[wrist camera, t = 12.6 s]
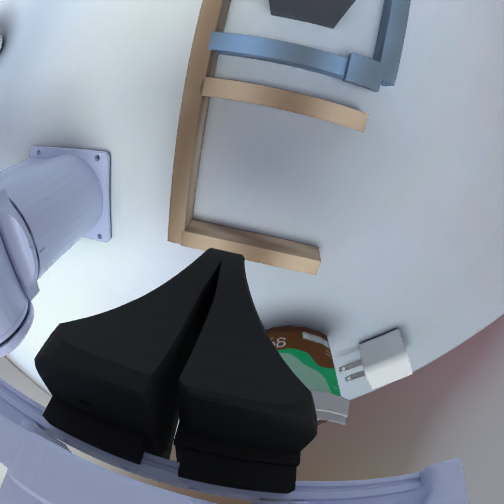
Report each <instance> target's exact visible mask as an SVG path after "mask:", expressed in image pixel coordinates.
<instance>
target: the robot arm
mask: <svg viewBox="0 0 504 504" xmlns="http://www.w3.org/2000/svg"><path fill="white" fill-rule="evenodd" d="M40 152H41V153H40ZM98 155H99V156H100V160H99V159H98V158H97V156H98ZM109 170H110V156H109V154H108V153H107V152H105V151H96V150H86V149H74V148H61V147H44V146H33V147H31V148H30V150H29V159H26V160H24V161H22V162H20V163H18V164H15V165H13V166H11V167H9V168H7V169H5V170H3V171H1V172H0V357H2V356H5V355H7V354H8V353H10V352H11V351H13V350H14V349H15V348H16V347H17V346H18V345H19V344H20V343H21V342H22V341H23V339H24V338H25V336H26V334H27V333H28V331H29V329H30V327H31V324H32V322H33V318H34V308H33V305H32V303H31V300H32V299H33V298H34V297H35V296H36V295H37V293H38V292H39V291H40V290H39V287H38V284H37V280H38V279H39V278H40V277H41V276H42V275H43V274H44V273H45V272H46V271H47V270H48V269H49V268H50V267H51V266H52V265H53V264H54V263H55V262H56V261H57V260H58V259H59V258H60V257H61V256H62V255H63V254H64V253H65V252H66V251H67V250H68V249H70V248H71V247H72V246H73V245H74V244H75V243H76V242H77V241H78V240H79V239H80V238H82V237H86V238H90V239H94V240H98V241H102V242H108V241H109V240H110V239H111V229H110V201H109ZM100 234H101V235H102V237H101V236H100ZM244 260H245V258H244V256H243V255H242V254H237V253H233V252H228V251H224V250H219V249H215V248H209V249H207V250H206V251H205V252H204V253H203V254H202V255H201V256H200V257H199V258H197V259H196V260H195V261H194V262H193V263H191V264H190V265H189V266H188V267H186V268H185V269H184V270H183V271H181V272H180V273H179V274H177V275H176V276H174V277H173V278H172V279H170V280H169V281H167V282H166V283H164V284H163V285H161V286H160V287H158V288H156V289H155V290H153V291H151V292H150V293H148V294H146V295H144V296H142V297H140V298H138V299H136V300H134V301H131V302H129V303H127V304H125V305H122V306H120V307H118V308H115V309H112V310H109V311H107V312H104V313H101V314H97V315H94V316H91V317H87V318H83V319H79V320H74V321H70V322H66V323H60V324H59V325H58V326H57V327H56V329H55V330H54V331H53V332H52V333H51V335H50V336H49V338H48V339H47V341H46V342H45V344H44V345H43V347H42V348H41V349H40V351H39V352H38V354H37V356H36V357H35V359H34V360H35V366H36V369H37V371H38V373H39V375H40V377H41V378H42V380H43V382H44V383H45V385H46V386H47V388H48V389H49V391H50V392H51V394H52V395H53V396H52V398H51V400H50V402H49V404H48V406H47V407H46V408H45V407H43V406H42V405H40V404H39V403H37V402H35V401H33V400H32V399H30V398H29V397H27V396H26V395H24V394H22V393H21V392H19V391H18V390H17V389H15V388H13V387H12V386H11V385H9V384H8V383H6V382H5V381H4V380H2V379H1V378H0V462H1V463H3V465H5V466H6V467H7V468H8V470H7V473H6V475H5V478H4V480H3V483H2V485H1V488H0V504H217V503H213V502H209V501H204V500H200V499H196V498H192V497H188V496H185V495H181V494H178V493H174V492H170V491H167V490H164V489H161V488H158V487H155V486H151V485H149V484H146V483H143V482H140V481H137V480H134V479H131V478H128V477H126V476H123V475H121V474H118V473H116V472H113V471H111V470H108V469H105V468H103V467H101V466H98V465H96V464H94V463H92V462H89V461H87V460H85V459H83V458H81V457H79V456H77V455H75V454H73V453H72V452H71V451H69V449H68V448H67V446H66V445H65V444H63V443H62V442H60V441H63V442H64V443H66V444H68V445H70V446H72V447H74V448H76V449H78V450H80V451H82V452H84V453H86V454H88V455H90V456H92V457H95V458H97V459H99V460H101V461H104V462H106V463H108V464H111V465H113V466H116V467H118V468H121V469H123V470H126V471H129V472H131V473H134V474H137V475H140V476H143V477H146V478H149V479H152V480H155V481H158V482H162V483H165V484H169V485H172V486H176V487H180V488H184V489H188V490H192V491H196V492H201V493H206V494H211V495H216V496H222V497H228V498H235V499H242V500H250V501H259V502H254V503H252V504H468V495H467V489H466V483H465V477H464V471H463V466H462V461H461V458H456V459H452V460H448V461H444V462H439V463H436V464H434V465H431V466H429V467H428V468H426V469H424V470H422V471H421V472H420V473H415V474H409V475H402V476H396V477H388V478H379V479H369V480H357V481H356V480H355V481H296V467H297V466H298V465H299V464H300V451H301V450H302V449H303V448H304V447H306V445H308V444H309V443H310V442H311V441H312V440H313V439H314V438H315V436H316V435H317V415H316V409H315V404H314V400H313V396H312V392H311V391H310V390H309V389H308V388H307V387H306V386H305V385H304V384H303V383H302V382H301V380H300V379H299V378H298V377H297V376H296V375H295V374H294V373H293V371H292V370H291V369H290V367H289V366H288V365H287V364H286V362H285V361H284V360H283V358H282V357H281V355H280V354H279V352H278V350H277V349H276V347H275V346H274V344H273V343H272V341H271V340H270V338H269V336H268V334H267V332H266V330H265V329H264V327H263V325H262V322H261V320H260V318H259V316H258V314H257V311H256V309H255V306H254V303H253V300H252V297H251V294H250V291H249V287H248V283H247V279H246V273H245V265H244ZM178 420H179V425H178V428H177V424H178ZM176 428H177V432H176ZM175 432H176V435H175ZM51 435H52V436H51ZM54 437H55V438H54ZM174 437H175V439H174ZM56 438H57V439H59V440H60V441H59V440H57V439H56ZM173 441H174V443H173ZM173 444H174V445H175V448H176V457H177V462H175V461H172V460H169V459H170V454H171V450H172V445H173Z"/></svg>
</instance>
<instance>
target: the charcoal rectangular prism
mask: <svg viewBox="0 0 504 504" xmlns="http://www.w3.org/2000/svg"><path fill="white" fill-rule="evenodd" d="M354 2H355V0H269V3H270V9H271V15H274V16H280V17H285V18H290V19H295V20H300V21H304V22H309V23H313V24H317V25H321V26H325V27H328V28H332V29H333V28H334V27H335V26H336V24H337V23H338V22H339V20H340V19H341V18H342V17H343V15H344V14H345V13H346V12H347V10H348V9H349V8H350V6H351V5H352V4H353V3H354Z"/></svg>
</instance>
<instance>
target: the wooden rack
mask: <svg viewBox="0 0 504 504" xmlns="http://www.w3.org/2000/svg"><path fill="white" fill-rule="evenodd" d="M410 1H411V0H385V2H384V7H383V13H382V18H381V24H380V29H379V34H378V39H377V44H376V48H375V53H374V58H373V60H372V59H370V58H367V57H364V56H361V55H359V54H356V53H353V52H352V53H350V54H349V56H348V58H345V57H342V56H339V55H335V54H332V53H328V52H325V51H321V50H317V49H314V48H310V47H306V46H301V45H297V44H293V43H288V42H283V41H278V40H273V39H267V38H261V37H255V36H248V35H240V34H232V33H223V30H224V26H225V22H226V18H227V14H228V10H229V6H230V2H231V0H203V2H202V6H201V10H200V14H199V18H198V22H197V26H196V31H195V35H194V40H193V44H192V49H191V54H190V59H189V64H188V69H187V74H186V80H185V86H184V92H183V98H182V104H181V110H180V117H179V124H178V132H177V139H176V147H175V156H174V165H173V175H172V186H171V197H170V210H169V226H168V241H170V242H174V243H178V244H180V245H182V246H186V247H191V248H195V249H200V250H204V251H206V250H207V249H209V248H215V249H219V250H224V251H228V252H233V253H237V254H242V255H243V256H244V258H245V260H249V261H254V262H258V263H263V264H267V265H272V266H276V267H281V268H285V269H290V270H295V271H299V272H304V273H309V274H313V275H316V274H317V271H318V269H319V266H320V263H321V258H320V252H319V247H315V246H310V245H306V244H302V243H297V242H293V241H289V240H284V239H280V238H275V237H271V236H266V235H262V234H257V233H253V232H248V231H244V230H239V229H235V228H230V227H226V226H221V225H216V224H212V223H207V222H202V221H198V220H193V219H192V217H193V208H194V199H195V191H196V183H197V175H198V168H199V161H200V154H201V147H202V140H203V134H204V128H205V122H206V116H207V110H208V104H209V99H210V97H216V98H223V99H230V100H236V101H242V102H248V103H253V104H258V105H263V106H268V107H273V108H278V109H282V110H287V111H291V112H295V113H299V114H303V115H307V116H311V117H315V118H318V119H322V120H325V121H329V122H332V123H336V124H339V125H342V126H346V127H349V128H352V129H355V130H358V131H361V132H364V129H365V126H366V122H367V118H368V115H369V114H367V113H364V112H361V111H358V110H355V109H352V108H349V107H346V106H343V105H339V104H336V103H333V102H329V101H326V100H322V99H319V98H315V97H311V96H307V95H303V94H299V93H295V92H291V91H287V90H282V89H278V88H273V87H268V86H263V85H257V84H252V83H246V82H240V81H233V80H226V79H219V78H213V77H214V72H215V67H216V62H217V58H218V54H224V55H232V56H239V57H246V58H253V59H259V60H264V61H270V62H275V63H280V64H285V65H289V66H294V67H298V68H302V69H306V70H310V71H314V72H318V73H321V74H325V75H328V76H332V77H335V78H338V79H342V80H343V81H345V82H348V83H351V84H354V85H357V86H360V87H363V88H366V89H369V90H371V91H374V92H379V88H380V84H381V85H383V86H394V85H395V80H396V76H397V72H398V67H399V63H400V58H401V53H402V48H403V43H404V38H405V32H406V26H407V20H408V14H409V8H410Z"/></svg>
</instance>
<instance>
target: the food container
mask: <svg viewBox="0 0 504 504" xmlns="http://www.w3.org/2000/svg"><path fill="white" fill-rule="evenodd" d="M266 332H267V334H268V336H269V338H270V340H271V341H272V343H273V344H274V346H275V347H276V349H277V350H278V352H279V354H280V355H281V357H282V358H283V360H284V361H285V362H286V364H287V365H288V366H289V367H290V369H291V370H292V371H293V373H294V374H295V375H296V376H297V377H298V378H299V379H300V380H301V382H302V383H303V384H304V385H305V386H306V387H307V388H308V389H309V390H310V391H311V392H312V396H313V400H314V404H315V409H316V415H317V425H319V424H322V423H324V422H327V421H333V422H337V423H340V424H343V425H346V419H345V417H348V410H349V400H348V399H346V398H343V397H341V395H340V390H339V386H338V381H337V377H336V372H335V368H334V364H333V359H332V355H331V351H330V347H329V343H328V338H327V336H325V335H323V334H322V333H320V332H318V331H315V330H312V329H309V328H306V327H298V326H282V327H274V328H271V329H268V330H266Z"/></svg>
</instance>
